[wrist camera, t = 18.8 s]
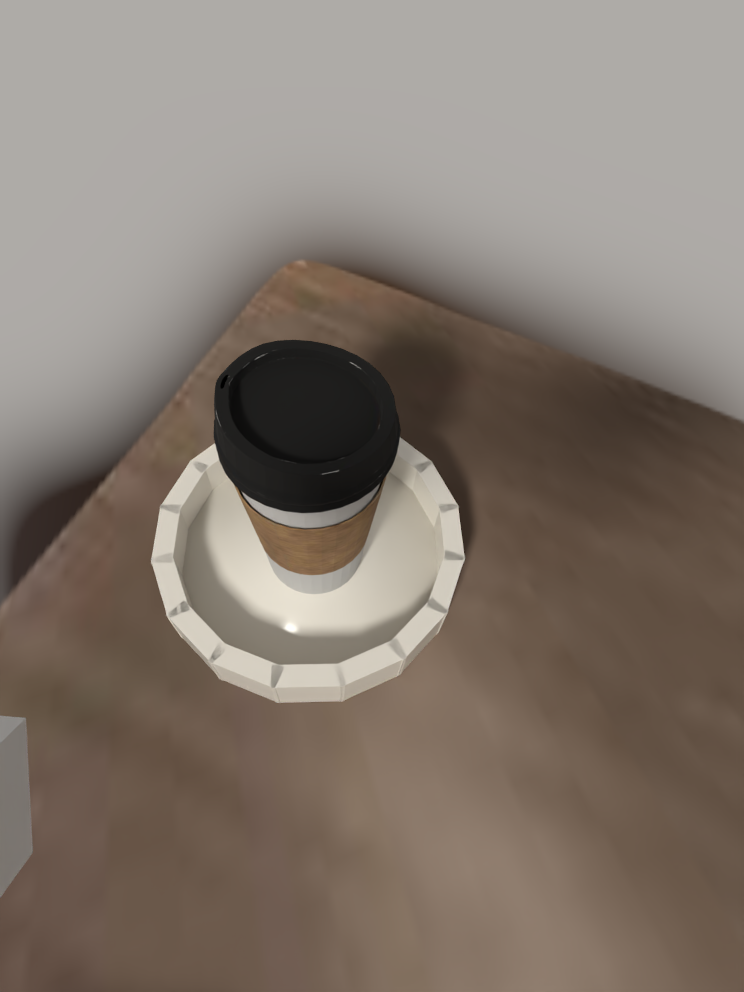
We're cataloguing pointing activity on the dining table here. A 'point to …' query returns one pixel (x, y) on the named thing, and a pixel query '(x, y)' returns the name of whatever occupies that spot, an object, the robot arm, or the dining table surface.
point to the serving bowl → (299, 616)
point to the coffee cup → (307, 454)
